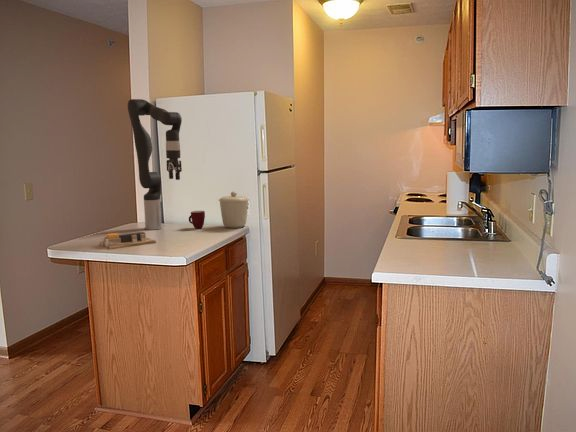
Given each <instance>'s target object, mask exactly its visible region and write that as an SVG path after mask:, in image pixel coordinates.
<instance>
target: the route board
mask: <svg viewBox="0 0 576 432" xmlns="http://www.w3.org/2000/svg"><path fill="white" fill-rule="evenodd" d="M139 232H140V231H135V232H134V233H139ZM131 233H132V232H126V233H125V234H131ZM131 236H132V242H125V243H121V238H114V239H107V236H102V237H101V241H100V242H99V244H100V245H101V246H103V247H105V248H107V249H109V250H114V249H123V248H129V247H136V246H143V245H150V244H151V245H152V244H157V240H156V239H155V240H154V239H152V238H149V237H147V235H146V233H145V234H140V239H141V240H140V241H137V235H131Z"/></svg>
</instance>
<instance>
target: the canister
mask: <svg viewBox="0 0 576 432" xmlns="http://www.w3.org/2000/svg"><path fill="white" fill-rule="evenodd" d="M237 194H238V193H237V191H231V192H230V195H227V196H222V197H220V198H219V199H218V201H219V207H220V213H221V221H222V224H223V226H224V227H225V228H230V229H237V228H243V227H245V226H246V224H247V218H248V209H249V207H248V206H249V201H250V198H248V197H247V196H243V195H237Z"/></svg>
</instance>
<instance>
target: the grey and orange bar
mask: <svg viewBox="0 0 576 432" xmlns="http://www.w3.org/2000/svg"><path fill="white" fill-rule="evenodd" d="M138 232H139V233H135V232H134V233H133V232H130V233H131V234H126V233H123V234H119V233H116V232H115V233H106V237H107V239H114V238H121V243H125V242H132V236H131V235H137V241H140V240H141V239H140V234H146V232H144V231H141V232H140V231H138Z"/></svg>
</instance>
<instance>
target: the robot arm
mask: <svg viewBox="0 0 576 432" xmlns="http://www.w3.org/2000/svg"><path fill="white" fill-rule="evenodd" d="M127 111H128V116H129V119H130V124H131V128H132V132H133V138H134V146H135V151H136V156H137V164H138V165H137V167H138V178H139V179H138V180H139V183H140V186H141V187H142V188H143V189H148V191H147V192H146V193H145V194H143V207H144V210H143V211H144V212H143V213H144V224H145V228H144V229H145V230H154V231H155V230H160V229H162V212H161V211H162V209H161V208H162V207H161V195H162V178H161V175H160V173H158V172H157V171H150V166H149V165H150V163H149V162H150V159H151V155H152V152H153V145H152V144H153V143H152V137H151V136H150V134H149V133H148V131H147V130H146V128H145V127H144V126H143V125H142V123H141V119H140V117H141V116H150V117H151V118H152V119H153V120H155V121H158V122H160V123H161V124H163V125H165V126H172V127H171V129H168V130H166V131H165V152H166V153H165V154H166V159H167V160H166V171H167V172H168V179H170V180H173V179H174V175H175V180H176V181H179V180H181V175H180V173H181V172H182V171H183V170H182V160H179V159H180V158H181V143H180V132H181V127H182V120H183V119H182V116H181V114H180V112H176V111H167V110H166V109H164V108H162V107H161V108H160V107H158V106H155V105H154V104H152V103H150V102H149V101H148V100H145V99H143V98H142V99H139V98H136V99H135V98H134V99H133V98H132V99H129V100H128V102H127ZM174 173H175V174H174Z"/></svg>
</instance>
